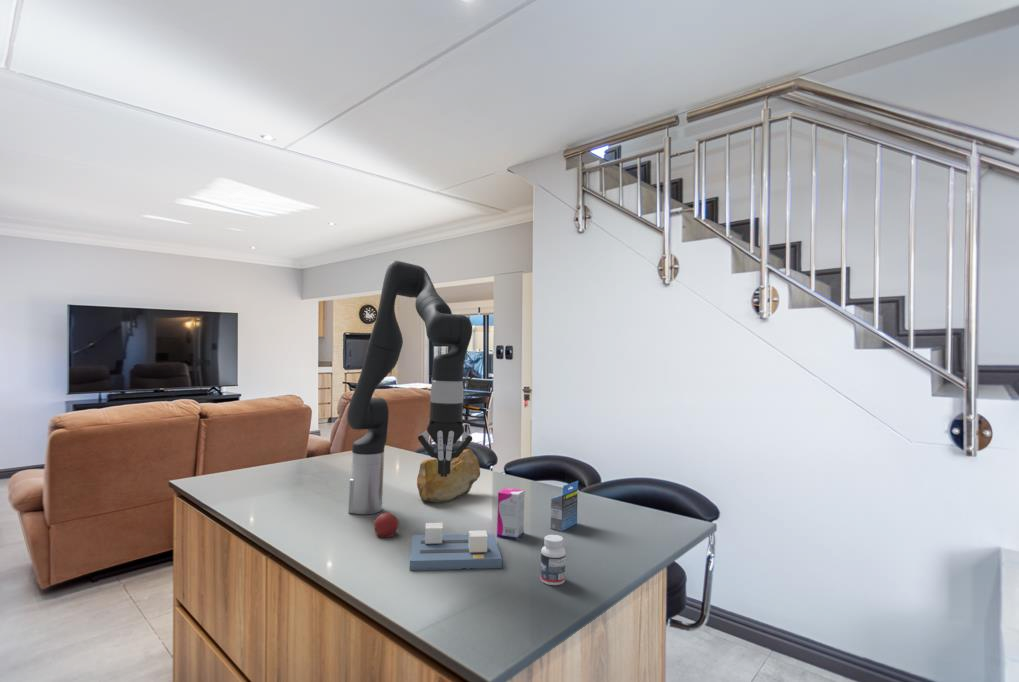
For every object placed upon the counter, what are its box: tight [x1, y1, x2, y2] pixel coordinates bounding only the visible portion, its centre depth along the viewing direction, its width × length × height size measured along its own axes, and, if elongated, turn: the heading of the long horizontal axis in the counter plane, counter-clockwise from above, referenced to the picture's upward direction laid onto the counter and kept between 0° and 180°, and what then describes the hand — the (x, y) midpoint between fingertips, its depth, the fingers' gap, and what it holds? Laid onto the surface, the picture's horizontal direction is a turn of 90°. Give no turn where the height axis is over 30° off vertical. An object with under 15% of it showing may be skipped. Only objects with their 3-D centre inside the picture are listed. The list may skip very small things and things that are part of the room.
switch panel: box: [409, 533, 503, 571], centre depth 120 cm, size 20×16×2 cm
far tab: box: [424, 522, 444, 544], centre depth 123 cm, size 4×4×4 cm
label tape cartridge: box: [550, 480, 579, 532], centre depth 143 cm, size 9×4×12 cm, turn 145°
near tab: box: [468, 529, 488, 552], centre depth 118 cm, size 4×4×4 cm
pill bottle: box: [539, 534, 567, 586], centre depth 108 cm, size 5×5×9 cm
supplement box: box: [496, 487, 526, 540], centre depth 135 cm, size 6×6×12 cm
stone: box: [416, 448, 481, 503], centre depth 172 cm, size 23×17×15 cm
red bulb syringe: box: [371, 512, 399, 538], centre depth 132 cm, size 6×6×8 cm
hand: (443, 476), depth 118 cm, fingers closed
